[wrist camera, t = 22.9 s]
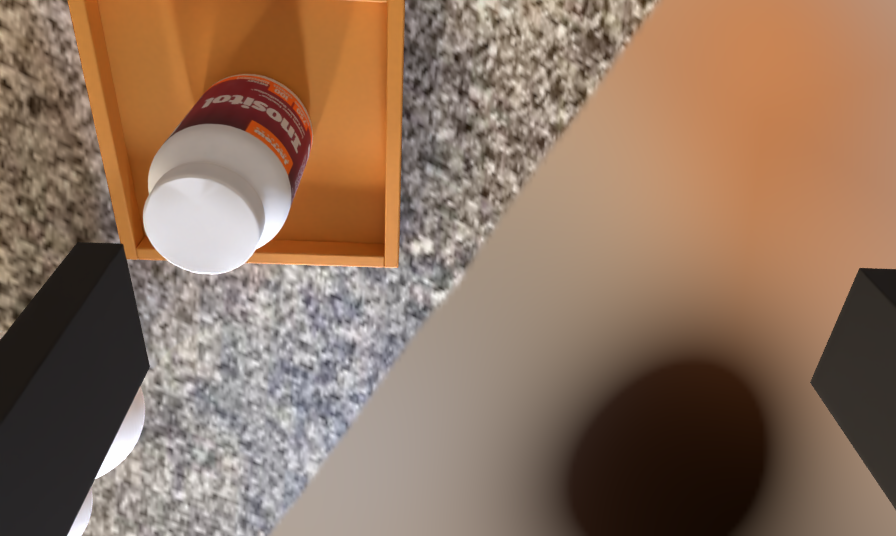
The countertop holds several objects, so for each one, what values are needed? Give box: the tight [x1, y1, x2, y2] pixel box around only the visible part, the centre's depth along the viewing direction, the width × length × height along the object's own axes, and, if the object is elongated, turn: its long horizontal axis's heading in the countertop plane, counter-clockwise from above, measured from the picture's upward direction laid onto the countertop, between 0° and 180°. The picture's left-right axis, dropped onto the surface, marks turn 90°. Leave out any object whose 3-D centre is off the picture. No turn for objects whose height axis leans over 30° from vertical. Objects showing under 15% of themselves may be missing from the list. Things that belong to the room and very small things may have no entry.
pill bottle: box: [143, 74, 313, 274], centre depth 34 cm, size 6×6×11 cm
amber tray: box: [68, 0, 405, 268], centre depth 38 cm, size 16×16×2 cm
